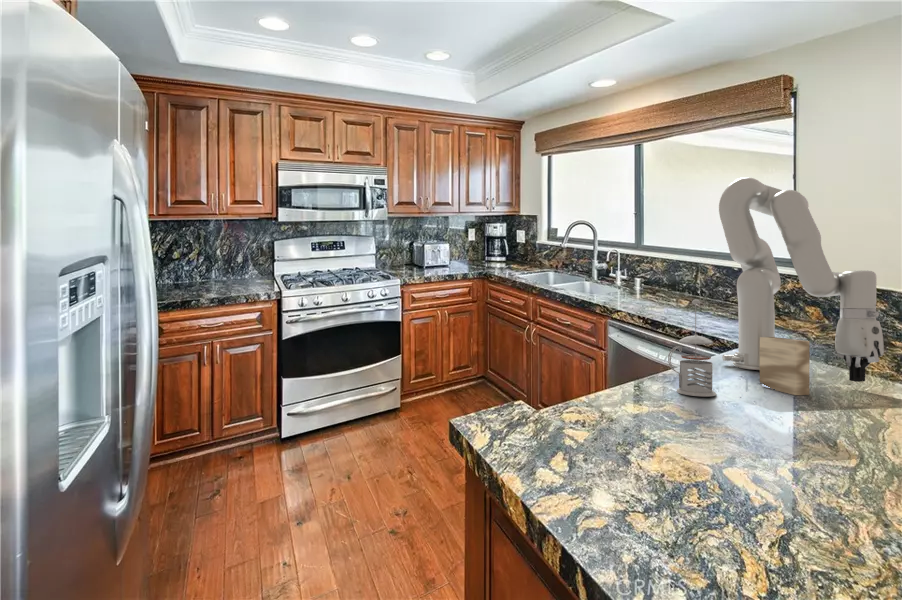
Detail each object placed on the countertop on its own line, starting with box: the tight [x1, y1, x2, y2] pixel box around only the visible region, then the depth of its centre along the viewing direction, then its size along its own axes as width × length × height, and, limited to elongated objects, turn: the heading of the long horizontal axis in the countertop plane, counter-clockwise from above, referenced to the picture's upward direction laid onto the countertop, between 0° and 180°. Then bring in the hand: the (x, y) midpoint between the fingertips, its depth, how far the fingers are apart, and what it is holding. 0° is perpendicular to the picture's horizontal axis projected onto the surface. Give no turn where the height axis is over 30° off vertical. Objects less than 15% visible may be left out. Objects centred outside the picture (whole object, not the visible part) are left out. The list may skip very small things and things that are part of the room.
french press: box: [667, 298, 718, 397], centre depth 123 cm, size 10×12×25 cm
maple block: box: [759, 336, 811, 396], centre depth 125 cm, size 4×12×14 cm, turn 6°
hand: (857, 380), depth 128 cm, fingers closed
